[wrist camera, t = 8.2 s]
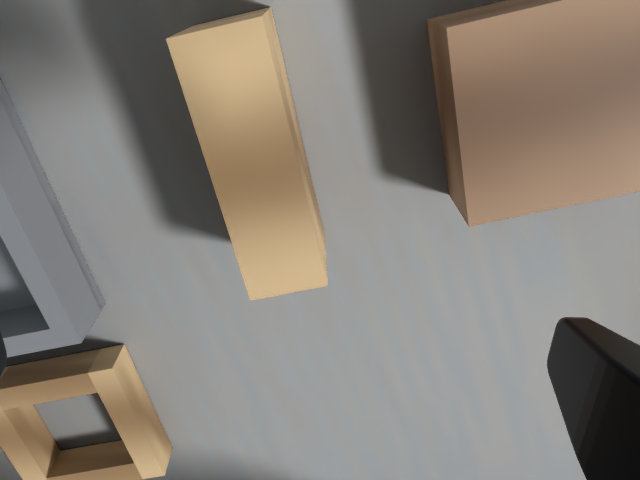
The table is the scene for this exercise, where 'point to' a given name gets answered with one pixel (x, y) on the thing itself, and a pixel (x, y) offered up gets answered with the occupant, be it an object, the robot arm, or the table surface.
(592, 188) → the walnut block
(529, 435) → the table surface
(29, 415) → the collar
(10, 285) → the tray
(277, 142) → the block
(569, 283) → the table surface
